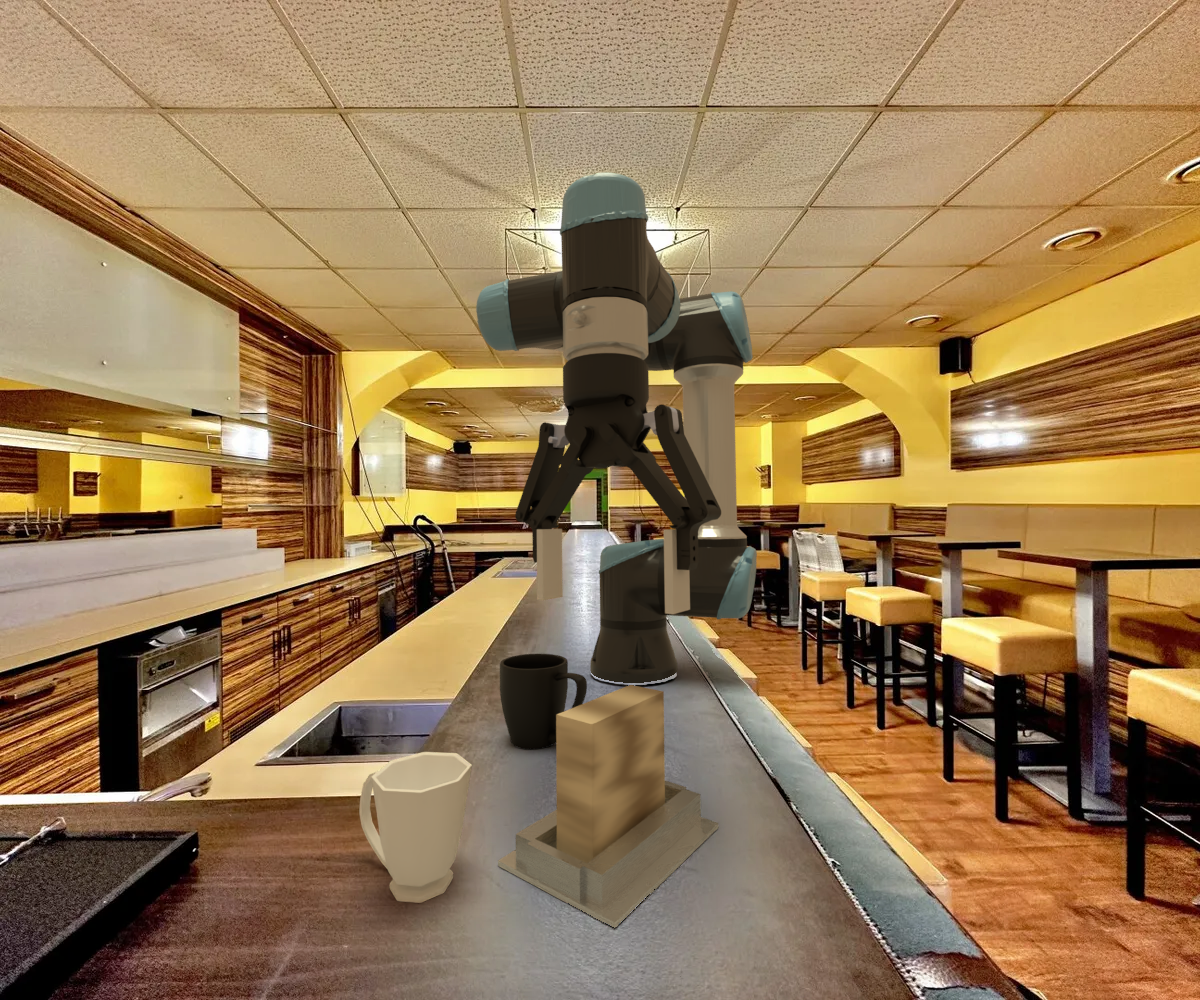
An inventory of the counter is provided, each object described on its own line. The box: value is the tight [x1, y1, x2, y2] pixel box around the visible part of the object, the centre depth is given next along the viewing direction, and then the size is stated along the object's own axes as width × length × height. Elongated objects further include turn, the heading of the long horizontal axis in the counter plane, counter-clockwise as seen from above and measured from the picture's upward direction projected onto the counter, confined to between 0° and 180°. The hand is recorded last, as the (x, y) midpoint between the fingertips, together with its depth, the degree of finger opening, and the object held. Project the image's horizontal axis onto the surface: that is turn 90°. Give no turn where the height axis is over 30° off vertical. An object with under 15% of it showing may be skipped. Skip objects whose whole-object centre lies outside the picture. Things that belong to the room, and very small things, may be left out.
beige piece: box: [497, 780, 719, 929], centre depth 45 cm, size 15×11×3 cm
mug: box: [499, 653, 588, 750], centre depth 66 cm, size 8×12×10 cm
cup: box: [358, 751, 473, 904], centre depth 41 cm, size 7×10×8 cm
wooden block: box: [555, 685, 666, 863], centre depth 45 cm, size 10×4×11 cm, turn 142°
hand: (608, 604), depth 48 cm, fingers open, 13 cm apart
